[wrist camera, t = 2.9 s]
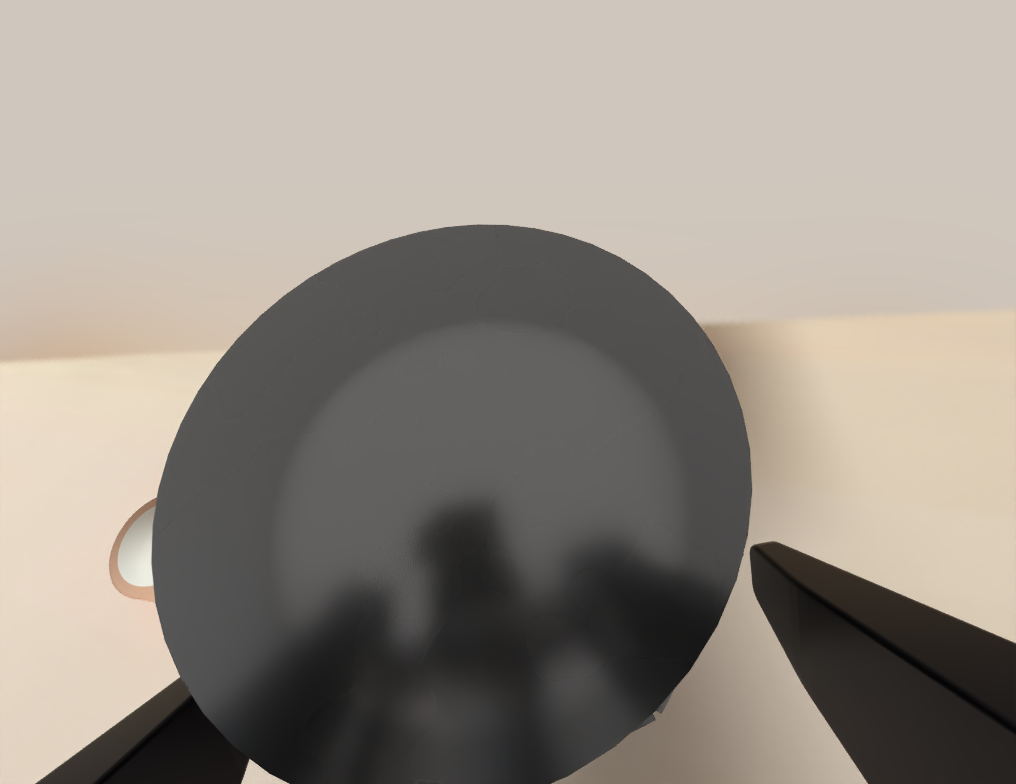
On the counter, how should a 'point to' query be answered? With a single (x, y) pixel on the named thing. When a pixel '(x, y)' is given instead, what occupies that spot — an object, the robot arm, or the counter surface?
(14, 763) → the counter surface
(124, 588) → the terracotta bowl
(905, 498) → the counter surface
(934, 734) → the robot arm
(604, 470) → the steel cup
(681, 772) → the counter surface
